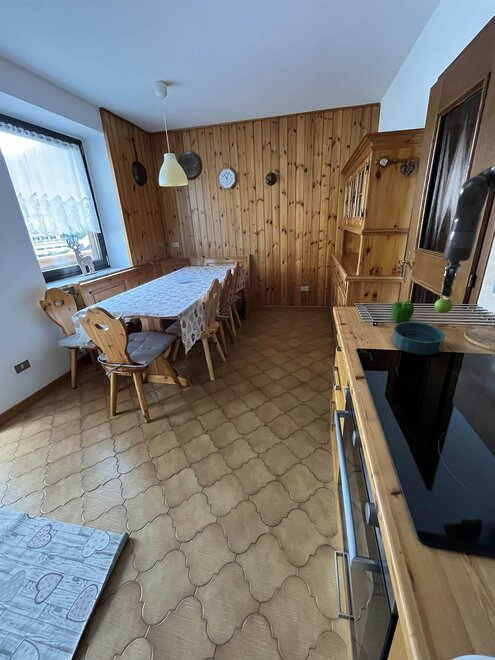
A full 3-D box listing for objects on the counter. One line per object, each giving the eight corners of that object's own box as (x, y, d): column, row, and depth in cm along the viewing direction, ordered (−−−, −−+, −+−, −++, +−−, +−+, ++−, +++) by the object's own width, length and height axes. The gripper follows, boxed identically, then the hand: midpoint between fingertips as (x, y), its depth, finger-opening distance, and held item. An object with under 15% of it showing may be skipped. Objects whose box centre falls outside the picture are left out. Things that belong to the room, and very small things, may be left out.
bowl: (443, 340, 107) (447, 328, 104) (437, 361, 96) (441, 347, 93) (397, 330, 116) (399, 318, 113) (386, 348, 105) (389, 335, 102)
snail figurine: (444, 308, 107) (452, 277, 101) (453, 315, 101) (463, 283, 95) (428, 308, 107) (436, 278, 102) (437, 315, 102) (445, 283, 96)
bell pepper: (385, 321, 124) (389, 299, 119) (395, 315, 128) (399, 294, 124) (405, 327, 118) (410, 305, 113) (414, 321, 122) (419, 299, 118)
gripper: (472, 249, 86) (456, 301, 94) (474, 241, 96) (460, 288, 104) (443, 248, 90) (430, 297, 98) (448, 239, 100) (436, 285, 108)
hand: (446, 292), depth 101 cm, fingers closed on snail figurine, 5 cm apart
